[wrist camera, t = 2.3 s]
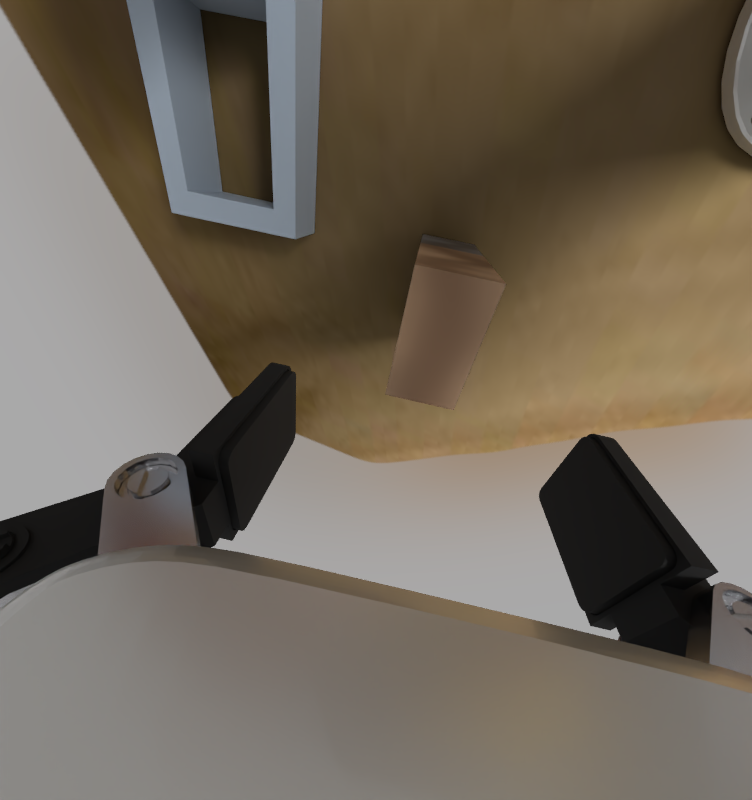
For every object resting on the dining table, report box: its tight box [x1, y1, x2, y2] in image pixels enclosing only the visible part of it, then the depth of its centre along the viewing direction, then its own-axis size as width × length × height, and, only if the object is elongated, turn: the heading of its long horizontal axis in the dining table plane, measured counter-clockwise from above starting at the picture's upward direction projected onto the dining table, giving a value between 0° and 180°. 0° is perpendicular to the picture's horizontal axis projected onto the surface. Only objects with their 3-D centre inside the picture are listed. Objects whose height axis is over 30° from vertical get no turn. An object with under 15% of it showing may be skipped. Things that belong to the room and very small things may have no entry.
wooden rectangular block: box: [386, 234, 506, 410], centre depth 19 cm, size 4×7×12 cm, turn 170°
